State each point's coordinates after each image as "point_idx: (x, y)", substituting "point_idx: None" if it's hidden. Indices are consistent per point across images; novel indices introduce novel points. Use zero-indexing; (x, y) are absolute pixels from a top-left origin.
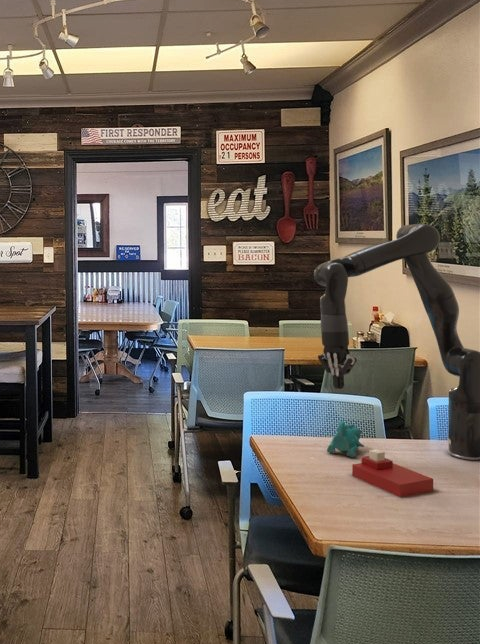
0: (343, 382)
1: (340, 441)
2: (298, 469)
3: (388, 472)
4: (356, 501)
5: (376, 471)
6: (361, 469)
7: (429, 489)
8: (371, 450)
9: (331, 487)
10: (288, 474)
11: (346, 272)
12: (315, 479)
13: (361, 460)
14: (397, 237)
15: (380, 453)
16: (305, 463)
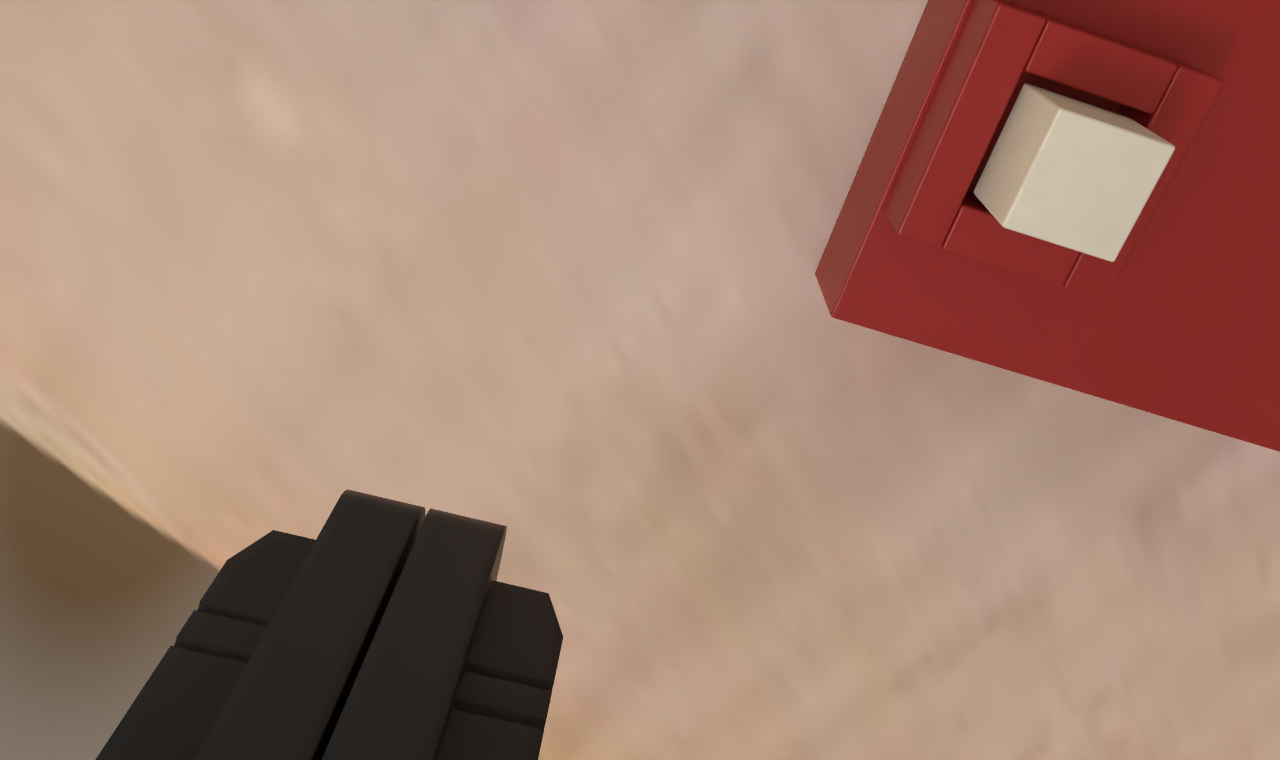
0: (543, 722)
1: None
2: (421, 488)
3: (1189, 256)
4: (1047, 696)
5: (1086, 322)
6: (940, 347)
7: None
8: (1026, 216)
9: (811, 615)
10: None
11: None
12: (644, 570)
13: (890, 222)
14: None
15: (1137, 212)
16: (352, 312)
